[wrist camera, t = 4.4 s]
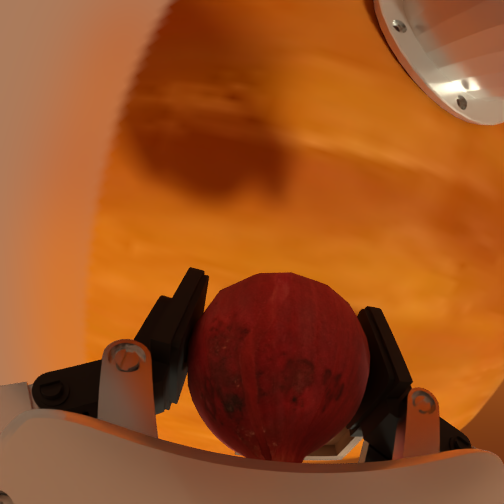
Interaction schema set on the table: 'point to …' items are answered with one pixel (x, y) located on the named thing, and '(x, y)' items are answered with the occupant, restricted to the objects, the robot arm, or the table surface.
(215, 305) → the onion
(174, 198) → the table surface
